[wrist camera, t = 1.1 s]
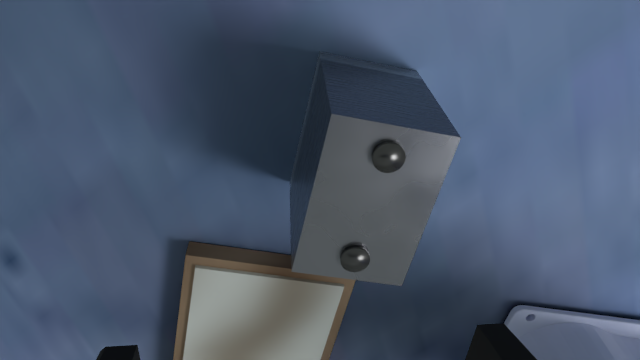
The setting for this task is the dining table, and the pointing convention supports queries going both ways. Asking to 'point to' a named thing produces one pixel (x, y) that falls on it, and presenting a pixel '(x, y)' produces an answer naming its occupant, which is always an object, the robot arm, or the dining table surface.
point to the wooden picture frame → (255, 307)
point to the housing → (366, 170)
